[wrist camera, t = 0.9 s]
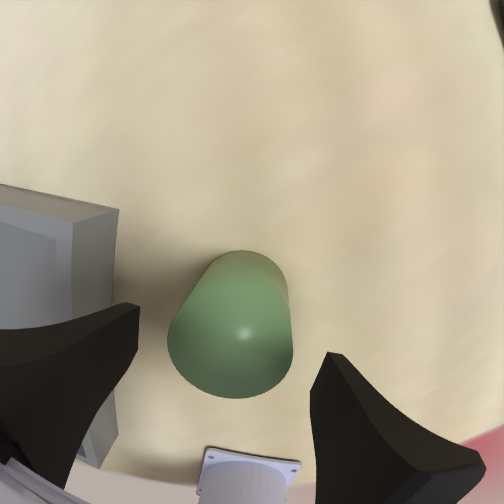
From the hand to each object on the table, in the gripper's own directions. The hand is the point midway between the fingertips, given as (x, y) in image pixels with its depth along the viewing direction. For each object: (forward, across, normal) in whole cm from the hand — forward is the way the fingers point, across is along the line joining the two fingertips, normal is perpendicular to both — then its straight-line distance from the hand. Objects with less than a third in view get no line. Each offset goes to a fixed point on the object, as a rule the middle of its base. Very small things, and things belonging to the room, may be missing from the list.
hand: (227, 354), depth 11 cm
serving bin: (+6, +16, +7) cm, 19 cm away
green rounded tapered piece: (+6, 0, 0) cm, 6 cm away
